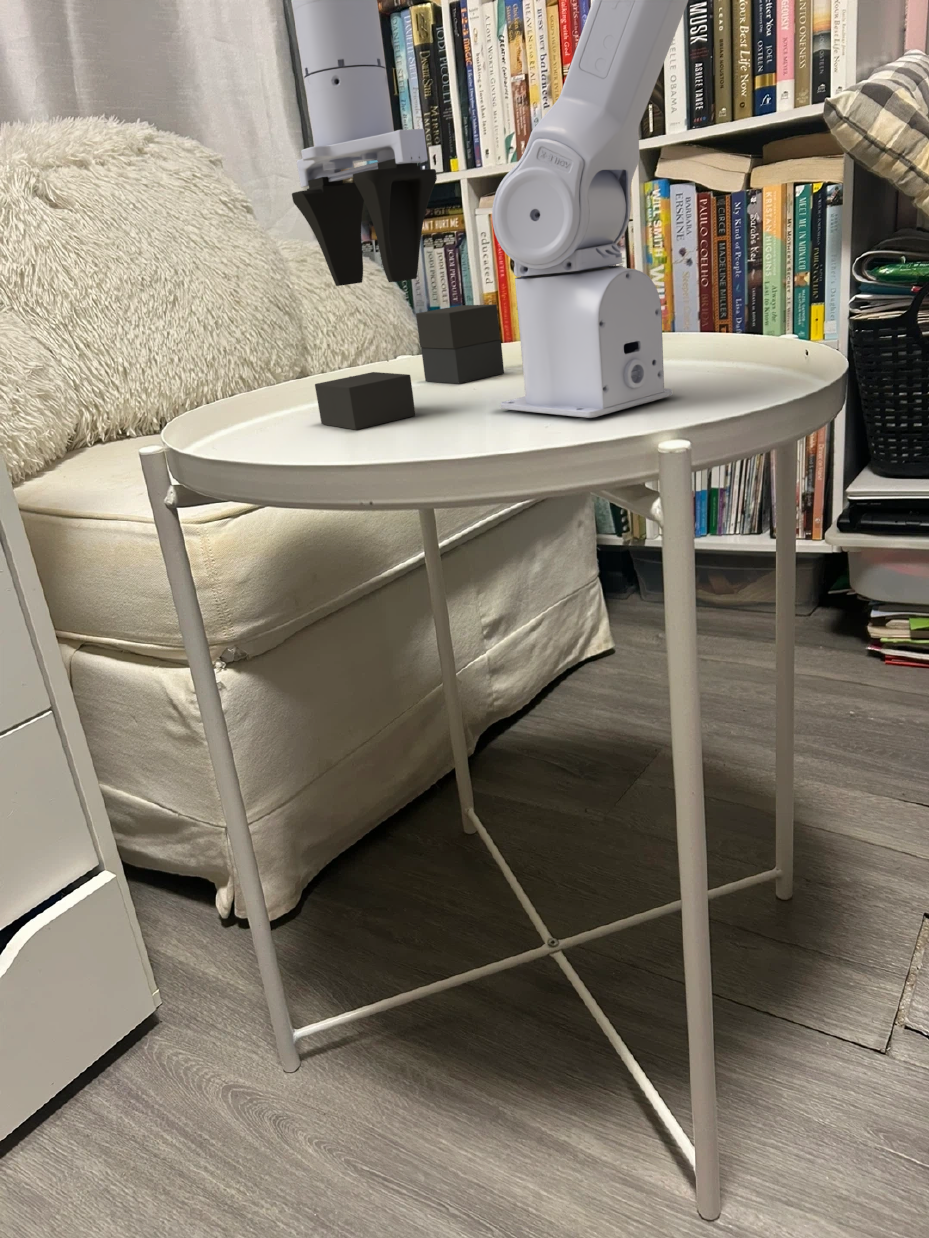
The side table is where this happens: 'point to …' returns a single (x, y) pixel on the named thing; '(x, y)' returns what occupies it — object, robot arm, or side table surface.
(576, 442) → the side table surface
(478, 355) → the pad base
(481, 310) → the pad middle
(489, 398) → the side table surface
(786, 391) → the side table surface
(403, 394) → the pad top
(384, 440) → the side table surface
